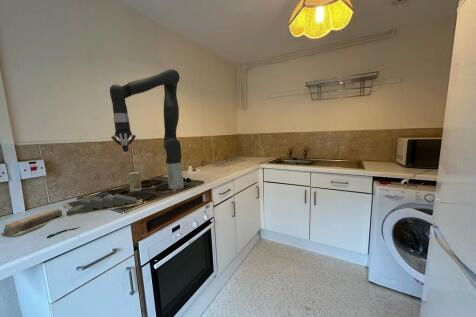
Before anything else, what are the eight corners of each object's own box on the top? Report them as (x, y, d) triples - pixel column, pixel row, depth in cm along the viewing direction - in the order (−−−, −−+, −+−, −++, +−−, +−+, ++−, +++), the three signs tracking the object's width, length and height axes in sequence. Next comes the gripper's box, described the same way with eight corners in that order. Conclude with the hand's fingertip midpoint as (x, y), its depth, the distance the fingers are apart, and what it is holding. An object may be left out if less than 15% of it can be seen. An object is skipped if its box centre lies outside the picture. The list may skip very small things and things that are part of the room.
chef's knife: (105, 218, 86) (102, 217, 87) (105, 216, 86) (102, 215, 87) (49, 240, 69) (46, 238, 71) (49, 237, 69) (45, 235, 70)
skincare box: (130, 192, 124) (127, 173, 123) (131, 190, 128) (129, 172, 127) (140, 190, 126) (138, 172, 124) (142, 189, 130) (140, 171, 128)
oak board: (142, 201, 105) (142, 199, 105) (141, 205, 98) (141, 203, 98) (75, 212, 95) (75, 209, 94) (68, 218, 87) (68, 216, 87)
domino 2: (106, 202, 98) (83, 197, 94) (103, 205, 93) (79, 200, 89) (104, 205, 98) (81, 201, 94) (101, 209, 93) (77, 204, 89)
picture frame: (107, 196, 120) (63, 207, 104) (106, 191, 120) (62, 202, 104) (116, 200, 111) (70, 213, 95) (116, 195, 110) (69, 208, 94)
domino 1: (92, 211, 92) (67, 215, 88) (96, 207, 96) (71, 211, 93) (92, 207, 91) (66, 211, 88) (95, 204, 96) (71, 208, 92)
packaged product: (14, 226, 72) (-2, 224, 74) (17, 238, 72) (1, 236, 75) (68, 207, 89) (53, 206, 91) (70, 217, 89) (55, 216, 92)
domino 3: (116, 201, 99) (94, 196, 95) (114, 204, 95) (90, 199, 91) (115, 204, 99) (92, 199, 95) (112, 207, 95) (89, 203, 91)
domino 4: (127, 199, 101) (105, 195, 97) (125, 202, 97) (102, 198, 93) (126, 202, 101) (104, 198, 97) (124, 205, 96) (101, 201, 93)
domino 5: (136, 198, 103) (115, 193, 99) (135, 200, 98) (113, 196, 94) (135, 201, 103) (114, 197, 99) (134, 204, 98) (112, 200, 94)
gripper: (135, 122, 116) (139, 150, 118) (110, 122, 111) (114, 152, 113) (133, 121, 109) (137, 151, 111) (106, 121, 104) (111, 153, 106)
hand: (126, 151), depth 112 cm, fingers closed
